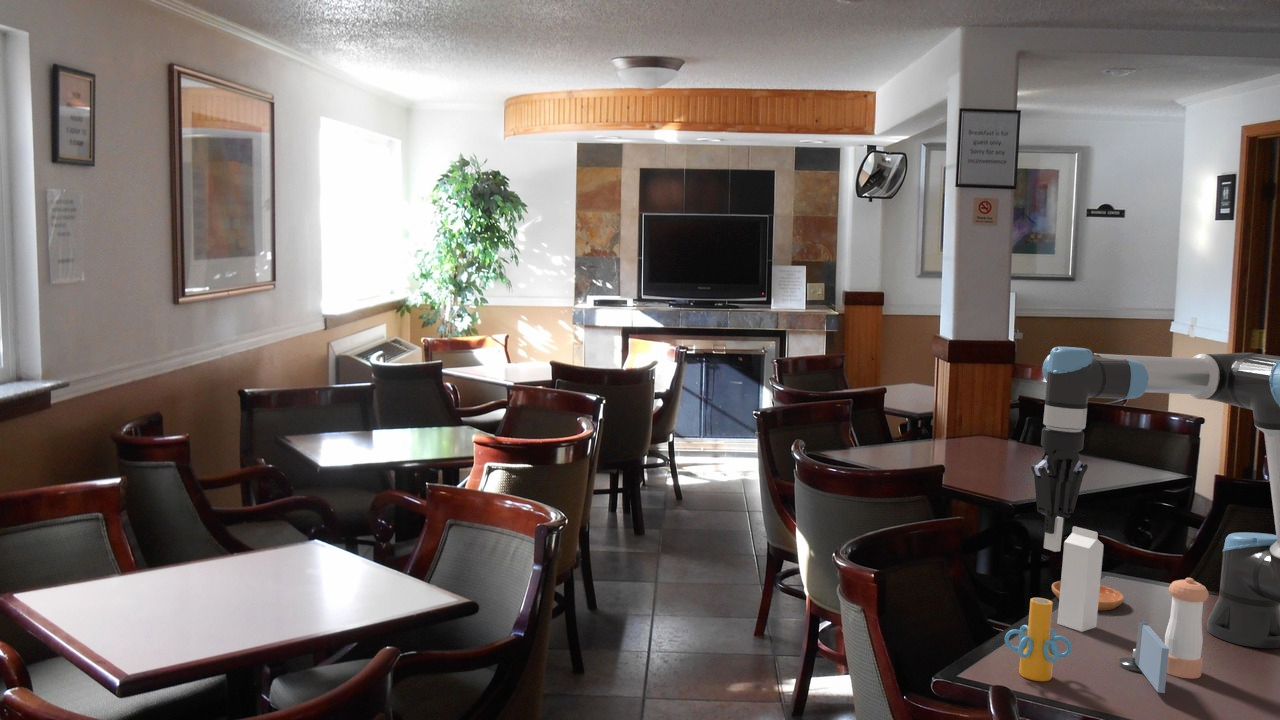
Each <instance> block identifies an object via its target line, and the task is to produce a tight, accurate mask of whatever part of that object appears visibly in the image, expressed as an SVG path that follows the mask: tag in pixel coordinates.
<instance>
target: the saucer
mask: <svg viewBox="0 0 1280 720" xmlns="http://www.w3.org/2000/svg"><path fill="white" fill-rule="evenodd" d="M1060 586H1061V580H1057V581H1055V582H1053V583H1052V584H1051V591H1052V593H1053V594H1054V595H1055V596H1056V597H1057V599H1059V598H1060ZM1124 599H1125V596H1124V594H1122V592H1120V591H1118V590H1117V589H1114V588H1112V587H1109V586H1106V585H1103V584H1100V591H1099V602H1098V611H1110V610H1114V609H1116V608H1117V607H1119V606H1120V605H1122V604H1123V602H1124Z"/></svg>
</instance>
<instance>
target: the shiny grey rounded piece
mask: <svg viewBox="0 0 1280 720" xmlns="http://www.w3.org/2000/svg"><path fill="white" fill-rule="evenodd" d="M1132 650H1133V651H1132V656H1131V657H1130V656H1129V657H1128V656H1127V657H1121V658H1119V661H1118V665H1119V666H1120V667H1121V668H1122V669H1124V670H1127V671H1129V672H1134V673H1139V674H1144V673H1143V672H1142V671H1141V669H1140V668H1139V667H1138V666H1137V664H1136V663H1135V655H1136V647H1135V648H1132Z"/></svg>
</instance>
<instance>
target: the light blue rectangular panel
mask: <svg viewBox="0 0 1280 720" xmlns="http://www.w3.org/2000/svg"><path fill="white" fill-rule="evenodd" d="M1137 623H1138V625H1137V635H1136V646H1135V648H1136V655H1135V663H1136V664H1137V666H1138V667H1139V668H1140V669H1141V671H1142V672H1143V673H1142V674H1143V675H1144V676H1145V677H1146V679H1147V680H1148V682H1149V683H1150V685H1152V687H1153V688H1154V690H1155V691H1156V692H1157V693H1161V694H1165V693H1166V685H1167V684H1166V683H1167V674H1168V673H1167V664H1168V654H1169V648H1168V647H1167V646H1166V645H1165V641H1163V640H1162V639H1161V638H1160V637H1159V635H1158V634H1157V633H1156V632H1155V631H1154V630H1153V629H1152V627H1151V626H1150V625H1149V624H1148V622H1147V621H1143V620H1139V621H1138V622H1137Z"/></svg>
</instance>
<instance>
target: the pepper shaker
mask: <svg viewBox="0 0 1280 720" xmlns="http://www.w3.org/2000/svg"><path fill="white" fill-rule="evenodd" d="M1168 592H1169V595H1170V596H1171V597H1172V598H1171V607H1170V614H1169V615H1170V617H1169V620H1168V623H1167V627H1166V630H1165V633H1164V634H1165V635H1164V644H1165V645H1166V646H1167V647H1168V648H1169V654H1168V664H1167V674H1168V675H1171V676H1174V677H1177V678H1180V679H1181V678H1182V679H1190V680H1191V679H1192V680H1194V679H1199V678H1201V676H1202V669H1203V662H1204V660H1203V656H1202V650H1203V642H1204V637H1203V627H1202V624H1203V623H1202V619H1203V607H1204V602H1206V600H1207V599H1208V598H1209V596H1210V594H1209V591H1208V589H1207V588H1206V586H1205V585H1203V584H1202V583H1200V582H1197V581H1196V580H1195V579H1194V578H1191V577H1186V578H1185V579H1178V580H1177V579H1176V580H1174V581H1172V582H1171V583H1170V585H1169V586H1168Z"/></svg>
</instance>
